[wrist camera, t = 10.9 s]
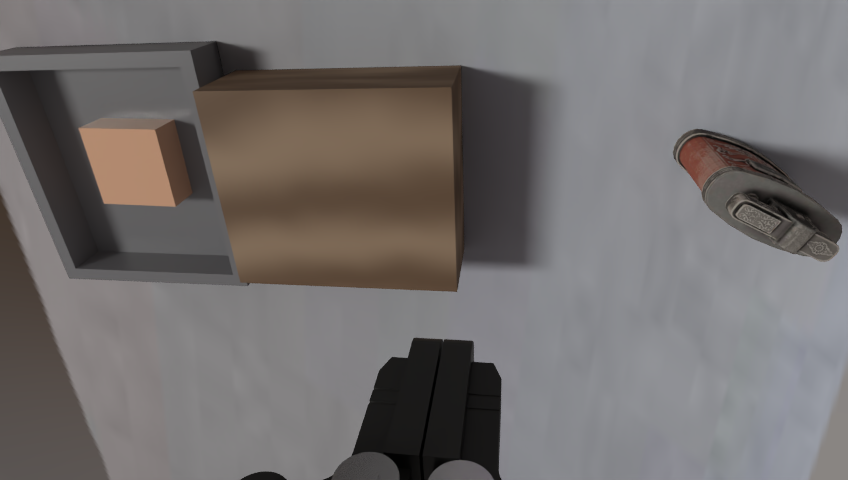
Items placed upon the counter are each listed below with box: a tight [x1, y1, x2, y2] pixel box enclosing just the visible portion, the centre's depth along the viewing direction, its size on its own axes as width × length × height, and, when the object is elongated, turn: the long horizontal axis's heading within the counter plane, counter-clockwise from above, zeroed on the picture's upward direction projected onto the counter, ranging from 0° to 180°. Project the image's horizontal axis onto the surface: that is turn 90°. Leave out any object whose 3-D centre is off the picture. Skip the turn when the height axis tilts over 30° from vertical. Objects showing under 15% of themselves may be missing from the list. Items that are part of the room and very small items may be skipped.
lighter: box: [673, 129, 842, 262], centre depth 33 cm, size 8×3×10 cm, turn 66°
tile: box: [79, 118, 192, 207], centre depth 42 cm, size 6×6×2 cm
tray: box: [0, 41, 250, 286], centre depth 42 cm, size 18×16×4 cm
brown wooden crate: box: [192, 66, 464, 292], centre depth 39 cm, size 14×16×6 cm
